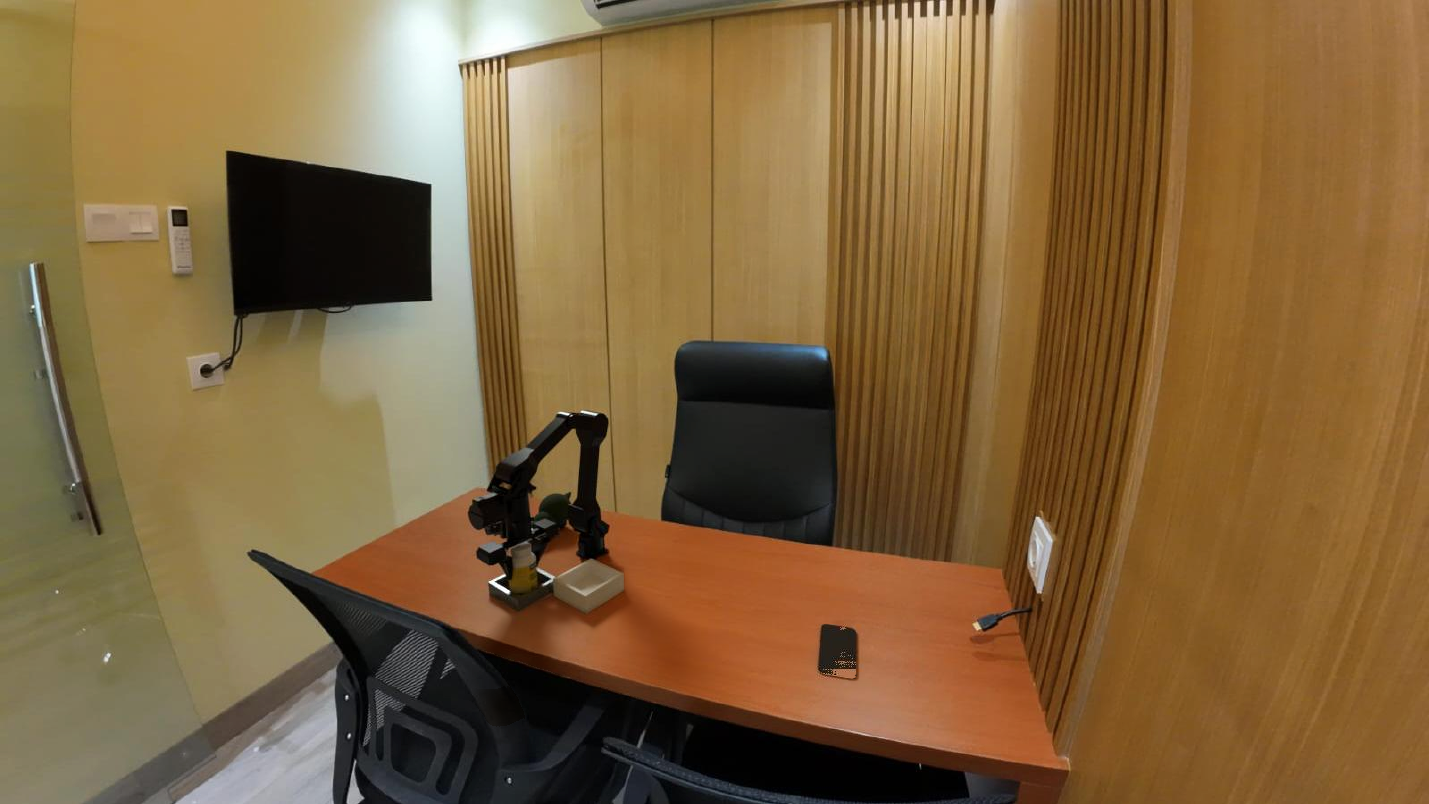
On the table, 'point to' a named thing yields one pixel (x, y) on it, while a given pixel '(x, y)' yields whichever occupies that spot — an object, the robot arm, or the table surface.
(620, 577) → the bin
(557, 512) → the toy figurine
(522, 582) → the pill bottle
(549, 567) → the table surface
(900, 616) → the table surface
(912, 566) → the table surface
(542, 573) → the collar
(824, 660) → the phone
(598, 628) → the table surface
